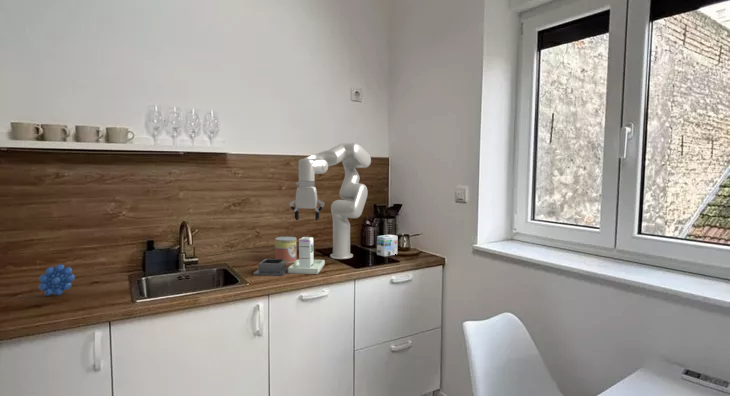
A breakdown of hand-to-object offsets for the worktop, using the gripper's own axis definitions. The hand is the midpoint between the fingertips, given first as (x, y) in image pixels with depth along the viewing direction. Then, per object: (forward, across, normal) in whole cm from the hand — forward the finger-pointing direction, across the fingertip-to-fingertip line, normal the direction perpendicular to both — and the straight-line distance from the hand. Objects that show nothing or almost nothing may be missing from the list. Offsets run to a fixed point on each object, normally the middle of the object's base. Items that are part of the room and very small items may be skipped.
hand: (307, 219), depth 199 cm
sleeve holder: (+24, -15, -7) cm, 29 cm away
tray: (+24, 0, 0) cm, 24 cm away
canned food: (+24, -15, +16) cm, 33 cm away
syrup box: (+23, 0, 0) cm, 23 cm away
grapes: (+24, -87, -49) cm, 103 cm away
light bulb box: (+25, +38, +37) cm, 58 cm away
